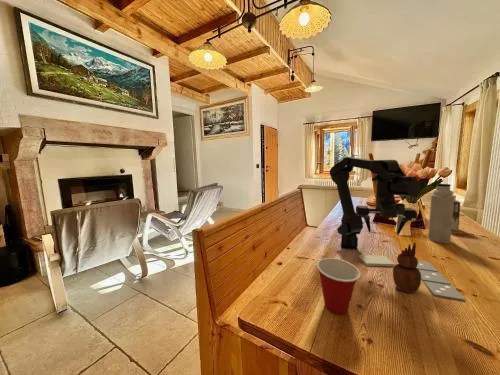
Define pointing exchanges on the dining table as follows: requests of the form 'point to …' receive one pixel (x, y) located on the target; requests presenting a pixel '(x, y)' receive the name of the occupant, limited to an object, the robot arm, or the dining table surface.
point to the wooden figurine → (407, 271)
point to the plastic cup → (337, 283)
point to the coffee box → (455, 216)
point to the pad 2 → (433, 277)
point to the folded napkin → (376, 260)
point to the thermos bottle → (441, 214)
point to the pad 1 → (425, 266)
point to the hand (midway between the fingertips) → (383, 233)
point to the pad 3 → (444, 291)
